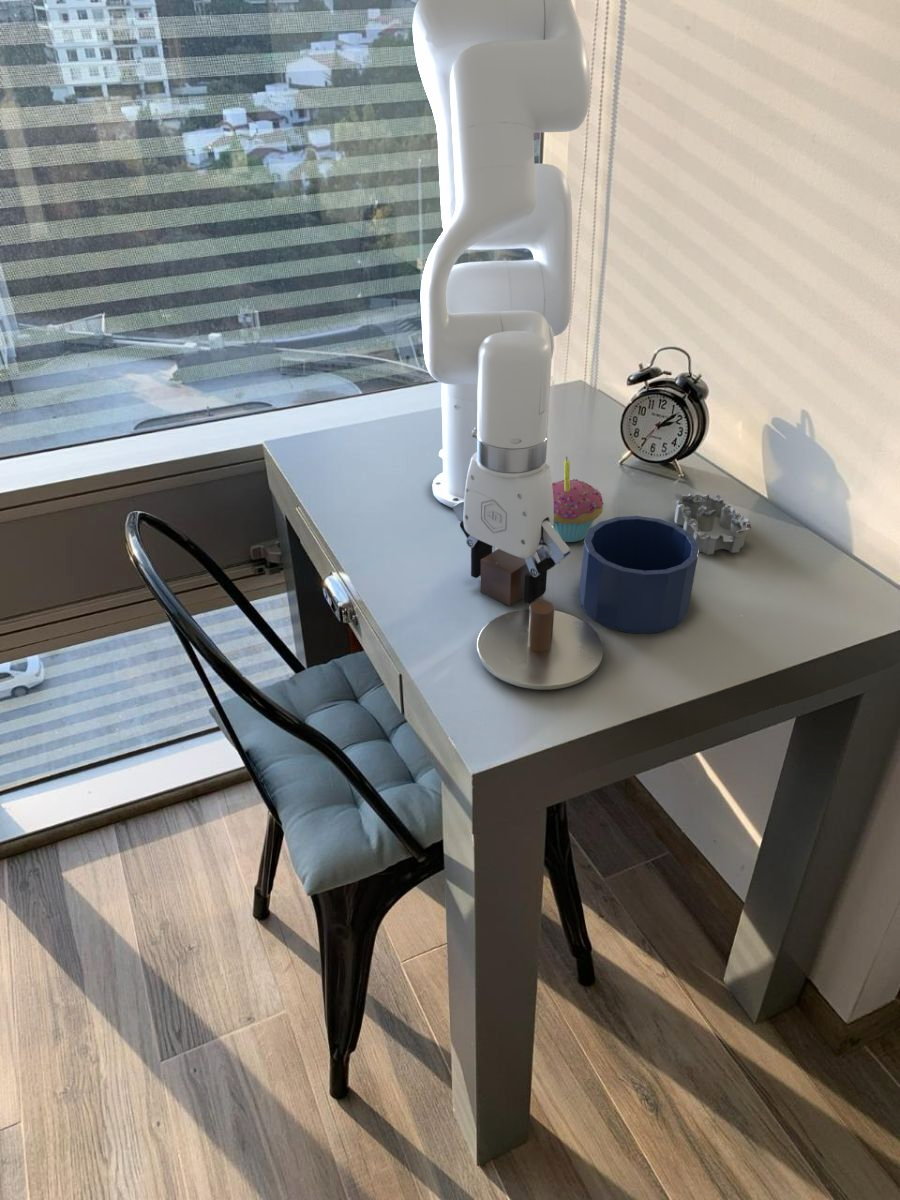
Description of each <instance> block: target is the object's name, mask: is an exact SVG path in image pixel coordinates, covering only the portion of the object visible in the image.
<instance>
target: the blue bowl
mask: <svg viewBox="0 0 900 1200" xmlns="http://www.w3.org/2000/svg"><path fill="white" fill-rule="evenodd" d="M699 553H700V551H699V545H698V544H697V542H696V540H695V539H694V537H693V536H692V535H691V534H690V533H688V532H687V531H685V530H684V529H683V528H682V527H681V525H679V524H676V523H672V522H670V521H667V520H664V519H661V518H656V517H648V516H642V515H623V516H616V517H612V518H609V519H604V520H602V521H599V522H598V523H597V524H595V525H593V526H592V527H590V528H589V530H588V532H587V534H586V536H585V538H584V540H583V548H582V559H581V570H580V571H581V572H580V582H579V595H578V596H579V601H580V605H581V607H582V610H583V611H584V612H585V613H586V614H587V616H589V618H591V619H592V620H594V621H595V622H597V623H598V624H600V625H602V626H604V627H607V628H609V629H612V630H615V631H618V632H623V633H628V634H629V633H630V634H638V635H639V634H640V635H641V634H643V635H644V634H656V633H661V632H664V631H668V630H670V629H673V628H674V627H676V626H678V625H680V624H681V623H682V622H683V621H684V620H685V619H686V618H687V615H688V613H689V609H690V603H691V597H692V592H693V585H694V581H695V574H696V570H697V565H698V564H697V563H698V557H699Z"/></svg>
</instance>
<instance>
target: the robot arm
mask: <svg viewBox="0 0 900 1200" xmlns="http://www.w3.org/2000/svg"><path fill="white" fill-rule="evenodd" d="M413 10H414V11H413V17H412V37H413V46H414V54H415V60H416V64H417V68H418V72H419V75H420V78H421V82H422V85H423V88H424V91H425V93H426V96H427V99H428V102H429V104H430V108H431V110H432V114H433V118H434V121H435V125H436V126H435V127H436V133H437V151H438V171H439V172H438V174H439V196H440V197H439V198H440V212H441V223H442V229H443V231H442V232H441V234H440V236H438V238H437V240H436V242H435V243H434V245H433V247H432V249H431V250H430V252H429V255H428V256H427V260H426V263H425V266H424V269H423V273H422V276H421V277H422V278H421V284H420V311H421V313H420V314H421V331H422V332H421V333H422V348H423V349H422V351H423V355H424V356H423V358H424V363H425V366H426V369H427V371H428V374H429V375H430V376H431V378H432V379H434V380H435V381H436V382H438V383H440V384H441V418H442V419H441V420H442V421H441V422H442V424H441V425H442V431H441V432H442V449H440V450H439V452H438V456H439V458H440V459H442V472H441V473H439V474H438V475H437V476H436V477H435V478H434V479H433V482H432V494H433V496H434V498H435V499H436V500H437V501H438V502H440V503H442V504H443V505H444V506H447V507H449V508H451V509H452V510H453V512H454V514H455V516H456V518H457V520H458V522H459V527H460V529H461V530H462V532H463V534H464V536H465V537H466V541H465V542H466V545H467V546H468V547H469V548H470V576H471V577H472V578H474V579H477V578H480V577H481V559H483V558H484V557H486V556H487V555H489V554H491V553H492V552H493V548H496V549H500V550H502V551H504V552H507V553H509V554H511V555H514V556H516V557H519V558H524V559H525V562H526V564H527V567H528V569H529V572H528V573H527V574H526V575H525V589H524V597H523V601H524V603H526V604H528V605H530V604H531V603H532V602H534V601H537V600H538V599H540V597H543V596H544V595H545V593H546V590H547V582H548V581H547V580H548V571H550V570H551V569H552V568H554V567H555V566H557V565H559V564H560V563H561V562H562V561H563V560H564V559H566V558H567V557H568V556H569V555H570V554H571V549H570V547H569V546H568V544H567V543H566V542H564V541H563V540H562V538H561V537H560V536H559V534H558V533H557V532H556V531H555V529H554V528H553V523H554V502H553V487H552V484H553V480H552V474H551V473H552V472H551V468H550V465H549V464H547V450H548V449H547V448H548V430H549V413H550V395H551V378H552V377H551V376H552V360H553V357H554V349H555V347H554V345H555V342H554V337H556V336H560V335H561V334H562V333H563V332H565V330H566V329H567V328H568V326H569V323H570V320H571V317H572V316H571V315H572V307H573V208H572V205H573V204H572V194H571V188H570V185H569V182H568V179H567V177H566V175H565V173H564V172H563V171H562V170H561V169H560V168H558V167H557V166H555V165H553V164H548V163H535V138H534V137H535V136H534V135H535V134H537V133H568V132H572V131H575V130H577V129H579V128H580V127H581V125H583V123H584V121H585V119H586V117H587V114H588V111H589V106H590V100H591V87H592V85H591V70H590V61H589V57H588V52H587V47H586V43H585V39H584V35H583V32H582V29H581V27H580V23H579V20H578V17H577V13H576V11H575V7H574V5H573V2H572V0H417V2H416V5H415V7H414V9H413ZM512 249H513V250H514V249H527V250H529V251H530V252H531V255H532V256H533V259H525V260H524V259H522V260H520V259H519V260H487V261H486V260H483V261H468V262H461V263H457V264H456V262H458V259H460V257H461V256H462V255H463V254H464V253H465V252H466V251H467V250H469V251H472V250H473V251H476V250H477V251H483V250H512ZM547 547H548V548H549V550H550V551H551V552H550V553H549V550H548V549H547ZM535 553H536V554H537V557H538V559H539V562H538V560H537V558H536V556H535Z"/></svg>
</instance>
